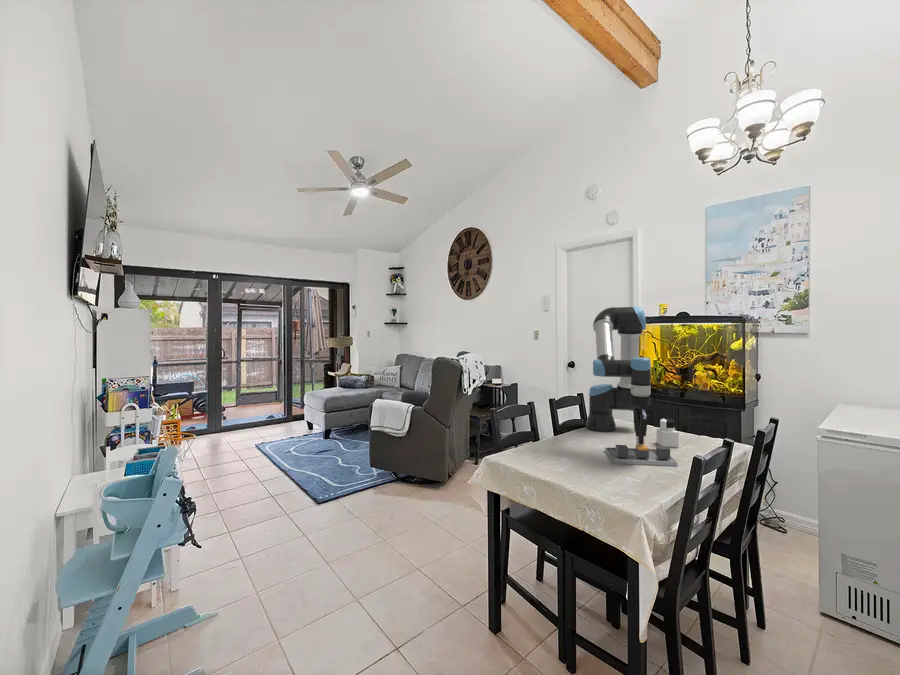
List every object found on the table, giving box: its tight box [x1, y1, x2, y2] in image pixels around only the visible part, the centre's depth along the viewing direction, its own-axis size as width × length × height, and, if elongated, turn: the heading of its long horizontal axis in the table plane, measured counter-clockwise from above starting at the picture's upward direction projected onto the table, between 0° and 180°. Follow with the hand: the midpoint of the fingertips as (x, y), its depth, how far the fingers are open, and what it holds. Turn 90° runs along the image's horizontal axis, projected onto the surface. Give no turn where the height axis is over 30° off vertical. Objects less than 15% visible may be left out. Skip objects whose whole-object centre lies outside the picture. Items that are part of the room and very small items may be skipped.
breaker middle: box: [635, 444, 650, 458], centre depth 167 cm, size 4×4×4 cm
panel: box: [604, 447, 679, 467], centre depth 171 cm, size 16×24×2 cm, turn 81°
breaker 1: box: [615, 444, 629, 458], centre depth 168 cm, size 4×4×4 cm
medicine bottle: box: [655, 418, 680, 448], centre depth 188 cm, size 7×7×12 cm
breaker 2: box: [655, 445, 671, 459], centre depth 166 cm, size 4×4×4 cm
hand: (640, 450), depth 170 cm, fingers closed
